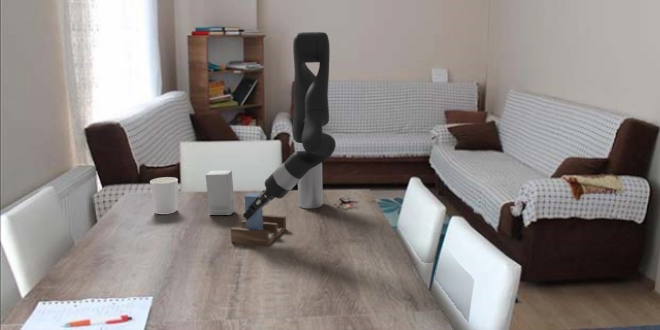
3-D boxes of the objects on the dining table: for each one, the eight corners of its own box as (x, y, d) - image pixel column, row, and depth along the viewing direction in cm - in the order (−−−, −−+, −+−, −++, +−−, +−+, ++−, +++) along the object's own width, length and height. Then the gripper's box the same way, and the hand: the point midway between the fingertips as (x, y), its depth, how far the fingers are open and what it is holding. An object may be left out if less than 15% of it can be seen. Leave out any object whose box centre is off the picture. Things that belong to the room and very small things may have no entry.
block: (251, 229, 188) (250, 192, 185) (263, 230, 187) (261, 193, 184) (246, 233, 184) (244, 196, 182) (258, 234, 183) (256, 196, 181)
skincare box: (235, 211, 217) (233, 170, 213) (230, 216, 210) (228, 174, 207) (213, 210, 217) (210, 169, 214) (207, 216, 211) (205, 173, 208)
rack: (252, 226, 199) (252, 213, 198) (286, 229, 196) (285, 216, 195) (231, 242, 184) (230, 228, 183) (267, 246, 180) (266, 232, 179)
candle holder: (150, 210, 219) (148, 178, 217) (177, 206, 223) (175, 176, 221) (154, 217, 211) (152, 184, 208) (182, 213, 215) (180, 181, 212)
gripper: (283, 166, 186) (249, 200, 192) (265, 176, 173) (230, 213, 179) (299, 183, 185) (265, 217, 191) (283, 194, 172) (246, 231, 178)
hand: (248, 215), depth 185 cm, fingers closed on block, 3 cm apart
